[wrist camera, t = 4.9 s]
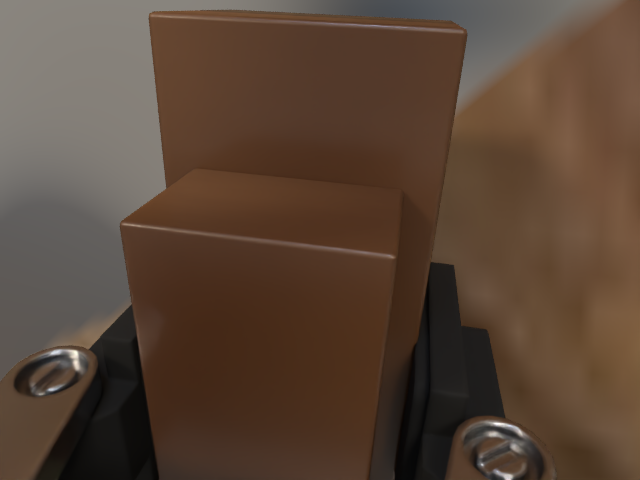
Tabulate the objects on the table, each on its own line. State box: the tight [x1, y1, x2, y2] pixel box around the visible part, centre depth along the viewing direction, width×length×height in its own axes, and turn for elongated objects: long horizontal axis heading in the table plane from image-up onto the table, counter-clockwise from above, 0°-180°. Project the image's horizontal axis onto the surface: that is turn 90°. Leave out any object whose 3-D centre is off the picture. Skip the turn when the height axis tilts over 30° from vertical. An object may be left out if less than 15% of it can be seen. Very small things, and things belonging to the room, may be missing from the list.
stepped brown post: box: [120, 10, 467, 480], centre depth 9 cm, size 4×12×5 cm, turn 177°
